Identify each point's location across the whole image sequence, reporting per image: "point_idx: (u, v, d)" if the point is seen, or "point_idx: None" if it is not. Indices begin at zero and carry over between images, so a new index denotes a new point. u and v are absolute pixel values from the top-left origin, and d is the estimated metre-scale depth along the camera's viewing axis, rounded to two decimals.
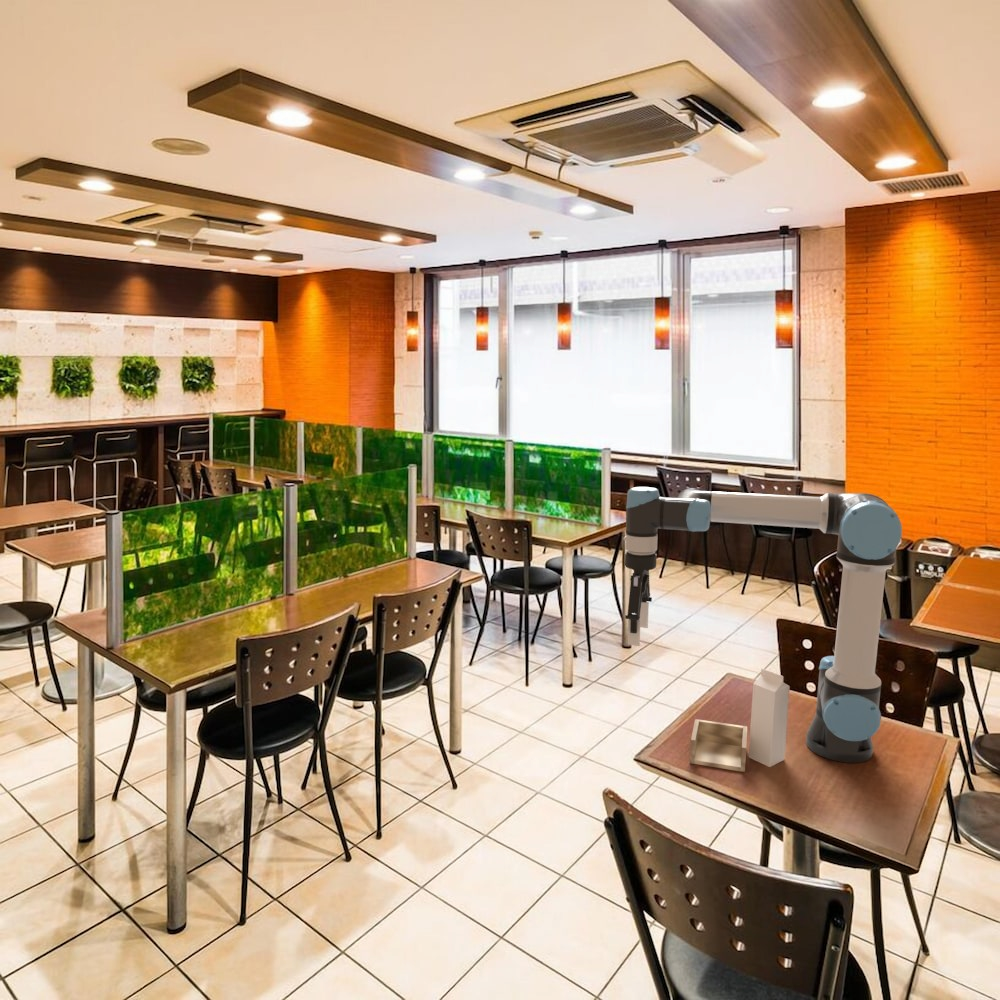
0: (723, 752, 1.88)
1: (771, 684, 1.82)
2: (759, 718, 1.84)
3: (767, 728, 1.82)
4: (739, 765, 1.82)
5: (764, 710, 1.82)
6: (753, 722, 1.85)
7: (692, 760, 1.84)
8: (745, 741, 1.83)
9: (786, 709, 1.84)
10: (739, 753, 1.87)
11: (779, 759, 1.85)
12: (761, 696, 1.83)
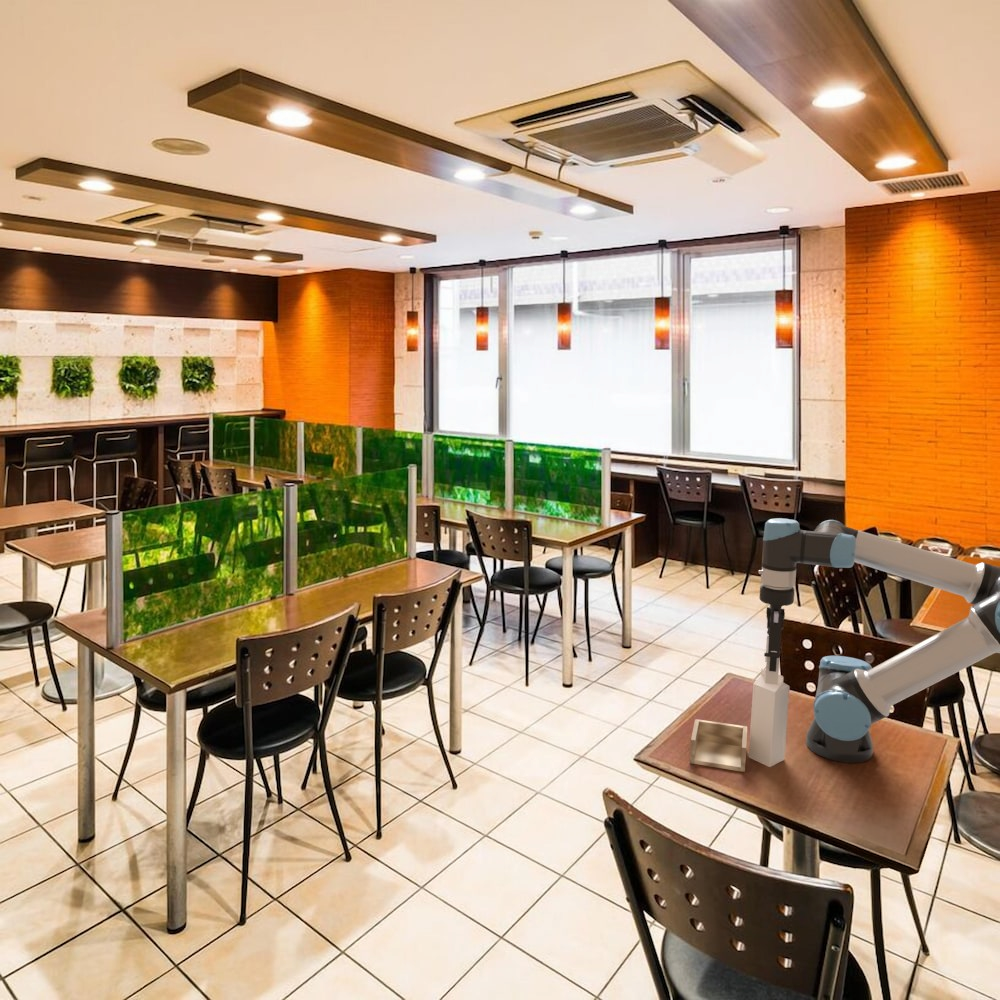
0: (723, 752, 1.88)
1: (771, 684, 1.82)
2: (759, 718, 1.84)
3: (767, 728, 1.82)
4: (739, 765, 1.82)
5: (764, 710, 1.82)
6: (753, 722, 1.85)
7: (692, 760, 1.84)
8: (745, 741, 1.83)
9: (786, 709, 1.84)
10: (739, 753, 1.87)
11: (779, 759, 1.85)
12: (761, 696, 1.83)
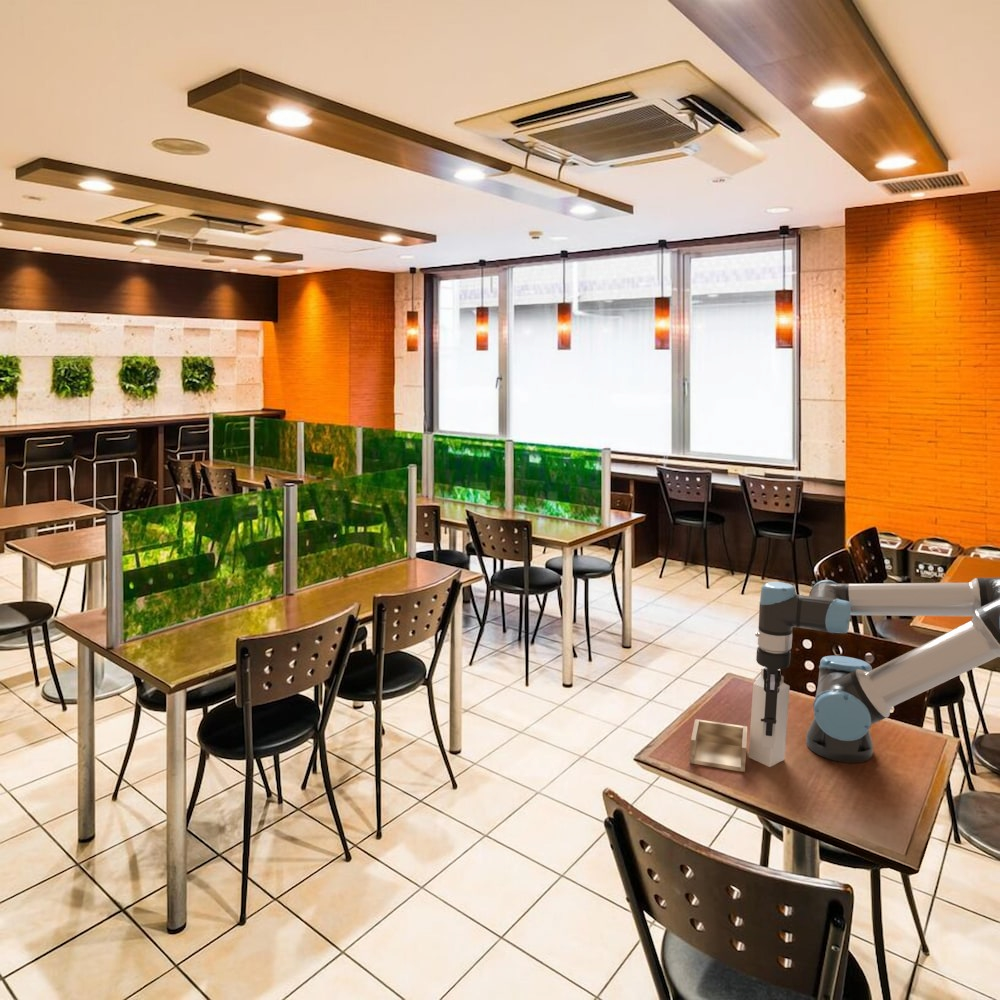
0: (723, 752, 1.88)
1: None
2: (759, 718, 1.84)
3: None
4: (739, 765, 1.82)
5: (764, 710, 1.82)
6: (753, 721, 1.85)
7: (692, 760, 1.84)
8: (745, 741, 1.83)
9: (786, 709, 1.84)
10: (739, 753, 1.87)
11: (779, 759, 1.85)
12: (761, 696, 1.83)
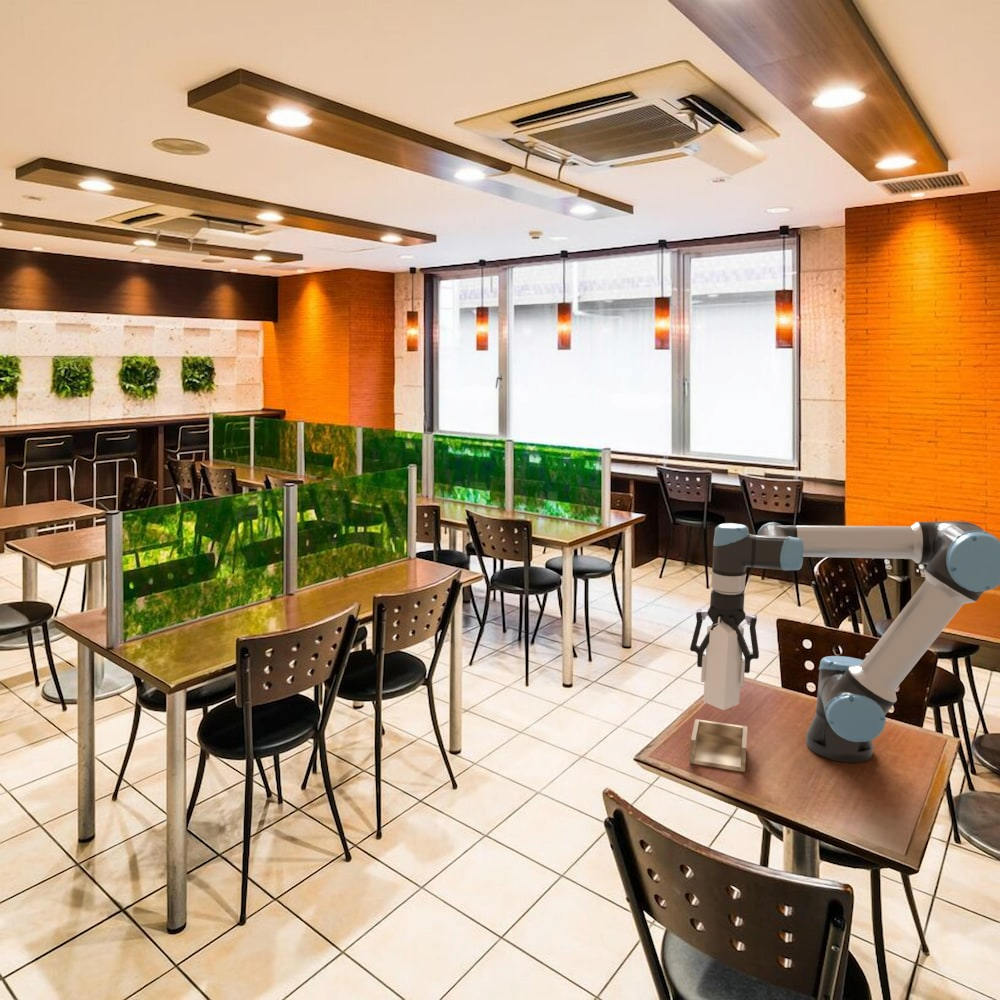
0: (723, 752, 1.88)
1: None
2: None
3: None
4: (739, 765, 1.82)
5: None
6: None
7: (692, 760, 1.84)
8: (745, 741, 1.83)
9: (724, 656, 1.79)
10: (739, 753, 1.87)
11: (716, 703, 1.83)
12: None
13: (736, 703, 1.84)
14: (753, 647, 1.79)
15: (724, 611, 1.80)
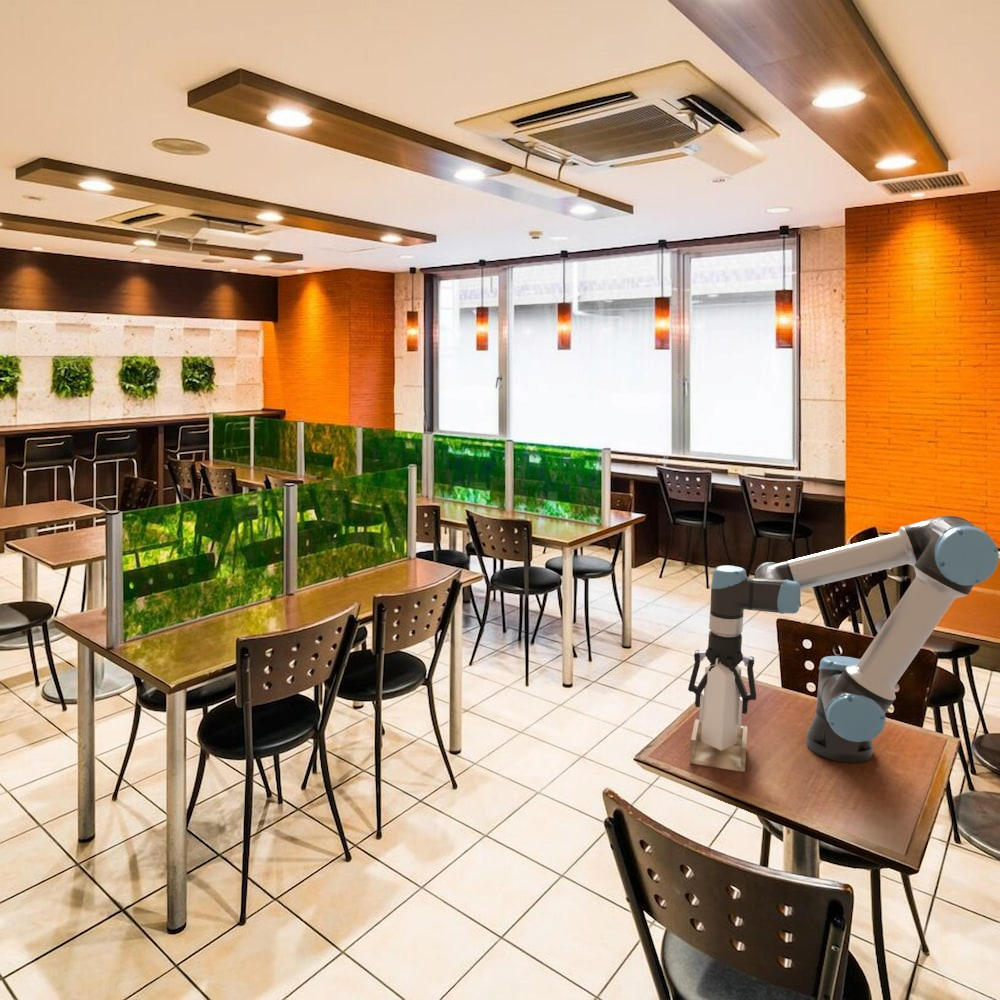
0: (723, 752, 1.88)
1: None
2: None
3: None
4: (739, 765, 1.82)
5: None
6: None
7: (692, 760, 1.84)
8: (745, 741, 1.83)
9: (721, 697, 1.81)
10: (739, 753, 1.87)
11: (714, 743, 1.84)
12: None
13: (734, 743, 1.86)
14: (750, 688, 1.81)
15: (722, 652, 1.82)
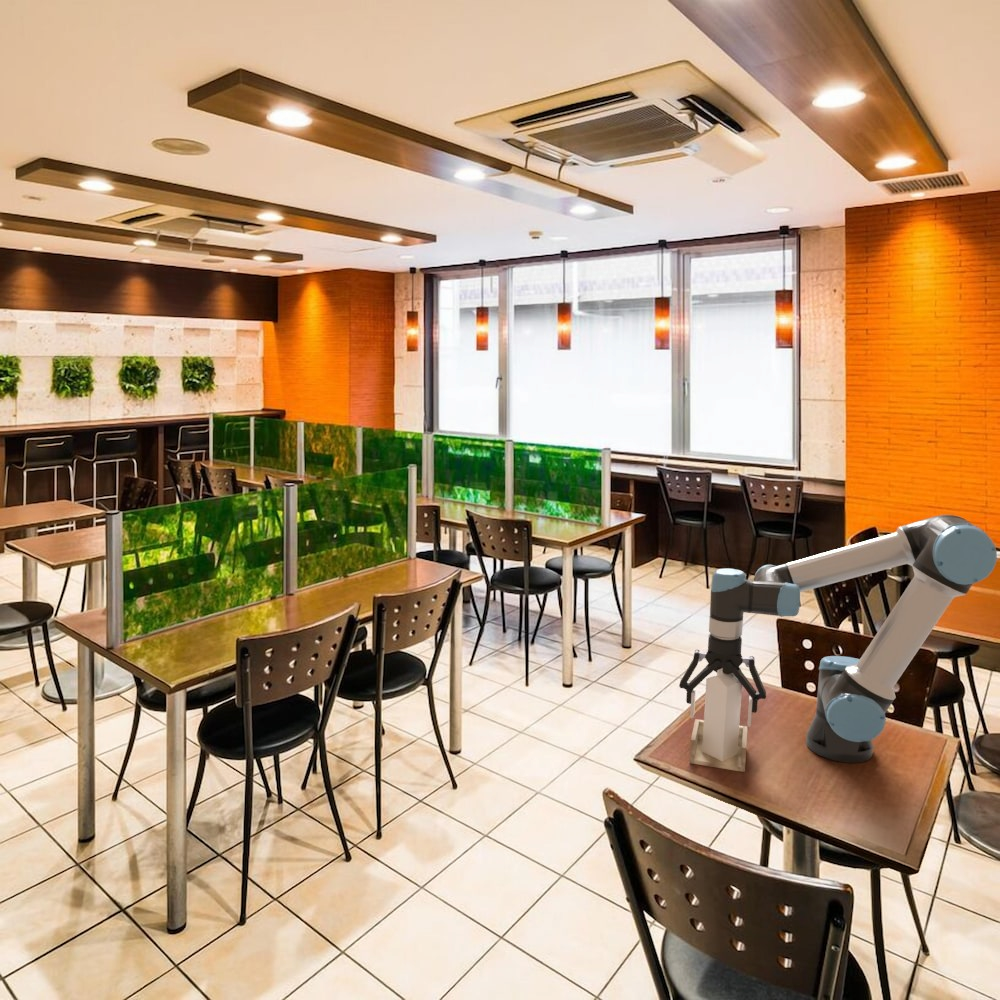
0: None
1: (716, 675, 1.84)
2: None
3: None
4: (739, 765, 1.82)
5: None
6: None
7: (692, 760, 1.84)
8: (745, 741, 1.83)
9: (723, 708, 1.81)
10: (739, 753, 1.87)
11: (714, 754, 1.85)
12: None
13: (734, 753, 1.86)
14: (758, 688, 1.81)
15: (722, 658, 1.82)
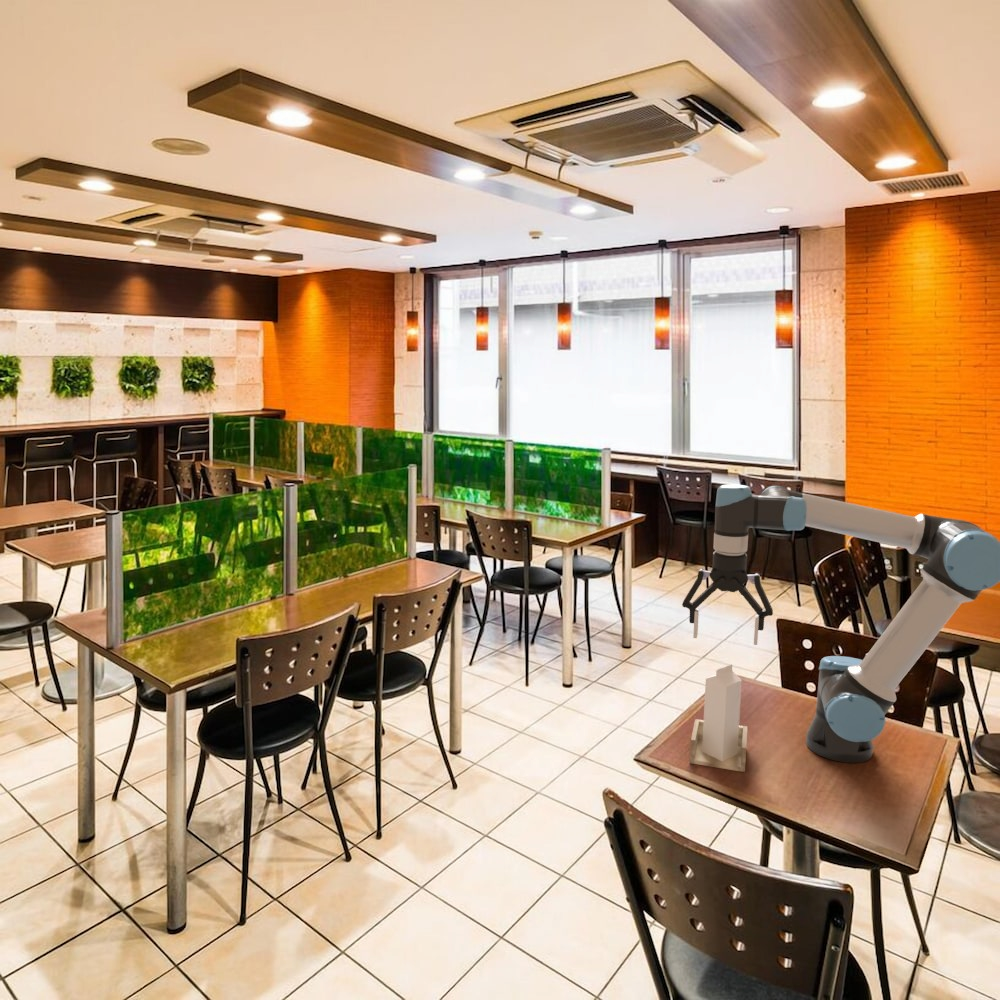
0: None
1: (716, 675, 1.85)
2: None
3: None
4: (739, 765, 1.82)
5: None
6: None
7: (692, 760, 1.84)
8: (745, 741, 1.83)
9: (722, 708, 1.82)
10: (739, 753, 1.87)
11: (714, 754, 1.85)
12: None
13: (734, 753, 1.86)
14: (764, 604, 1.77)
15: (727, 576, 1.79)
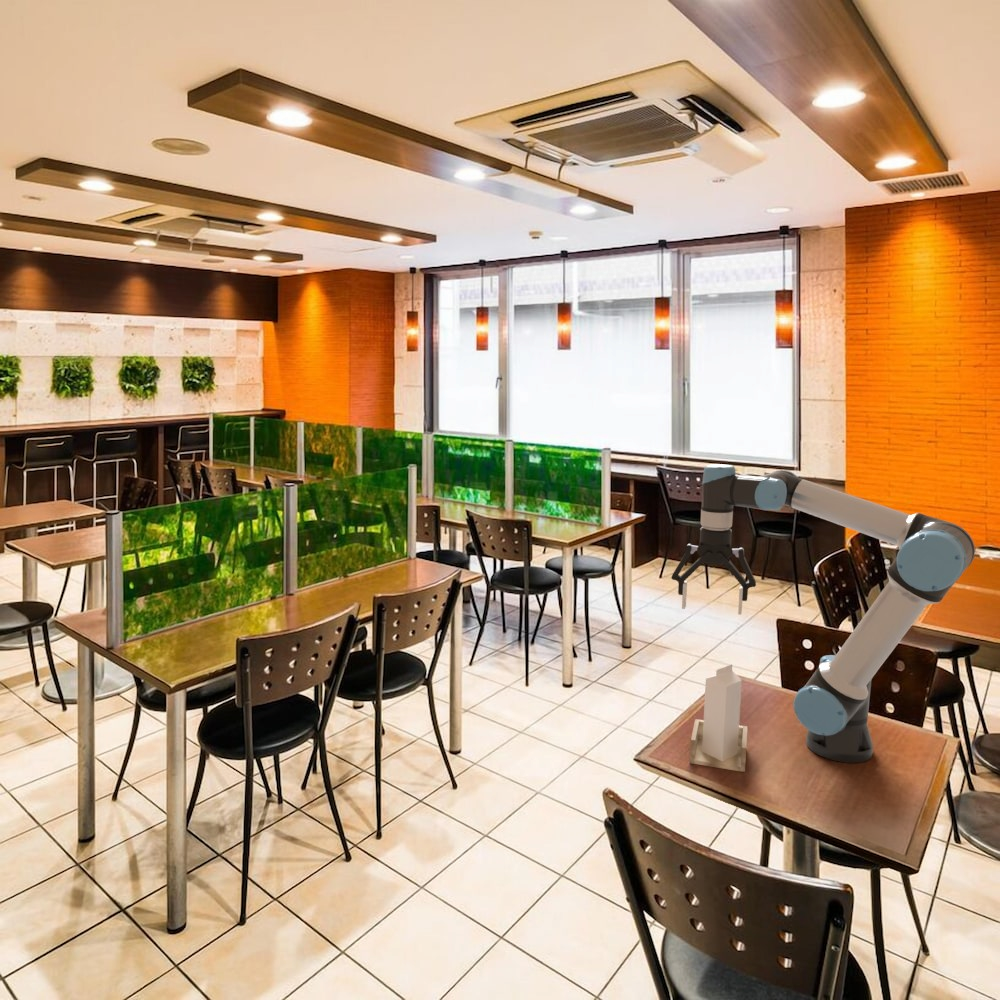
0: None
1: (716, 675, 1.85)
2: None
3: None
4: (739, 765, 1.82)
5: None
6: None
7: (692, 760, 1.84)
8: (745, 741, 1.83)
9: (722, 708, 1.82)
10: (739, 753, 1.87)
11: (714, 754, 1.85)
12: None
13: (734, 753, 1.86)
14: (748, 576, 1.89)
15: (713, 550, 1.91)
